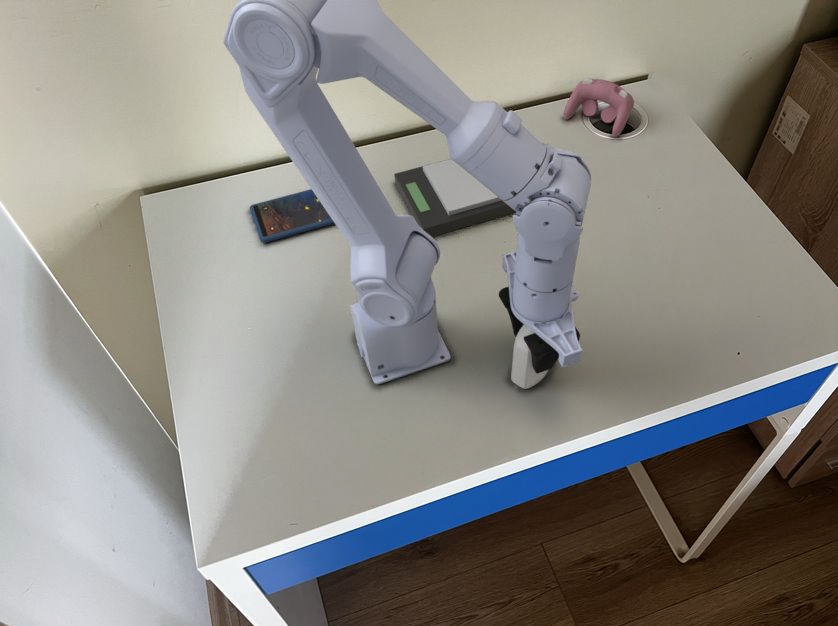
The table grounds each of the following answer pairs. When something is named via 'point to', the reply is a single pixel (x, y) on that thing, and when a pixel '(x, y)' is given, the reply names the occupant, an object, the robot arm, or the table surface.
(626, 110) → the video game controller
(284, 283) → the table surface
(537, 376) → the eye dropper bottle
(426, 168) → the scale
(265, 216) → the smartphone
